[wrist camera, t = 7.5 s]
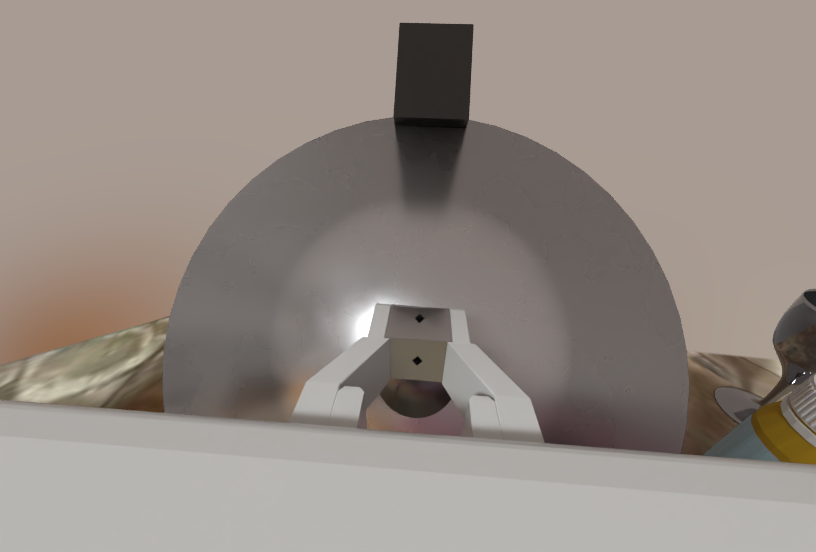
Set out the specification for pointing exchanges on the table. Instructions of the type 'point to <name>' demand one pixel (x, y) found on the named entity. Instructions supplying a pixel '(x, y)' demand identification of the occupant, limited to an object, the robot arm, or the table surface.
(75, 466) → the robot arm
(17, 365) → the table surface
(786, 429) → the bottle
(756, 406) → the wine glass
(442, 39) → the lid
